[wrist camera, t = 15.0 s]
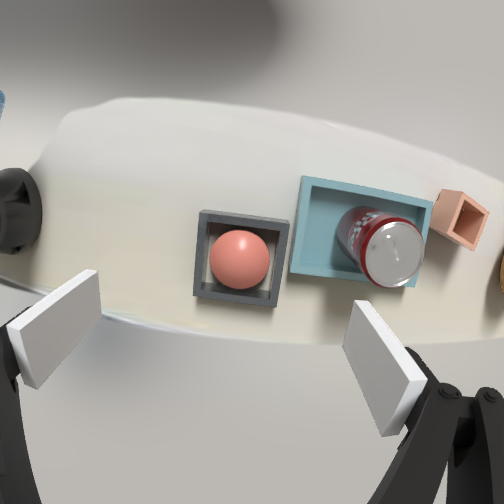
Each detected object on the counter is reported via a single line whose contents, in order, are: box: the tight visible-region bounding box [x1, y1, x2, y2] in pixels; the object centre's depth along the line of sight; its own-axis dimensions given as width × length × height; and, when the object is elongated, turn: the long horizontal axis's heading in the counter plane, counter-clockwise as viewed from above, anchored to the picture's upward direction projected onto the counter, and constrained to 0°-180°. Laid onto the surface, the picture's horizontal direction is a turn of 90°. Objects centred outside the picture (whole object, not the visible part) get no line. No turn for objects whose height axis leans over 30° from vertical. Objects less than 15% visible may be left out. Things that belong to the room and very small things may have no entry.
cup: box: [429, 189, 489, 251], centre depth 35 cm, size 6×6×6 cm
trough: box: [288, 176, 433, 287], centre depth 38 cm, size 18×12×3 cm, turn 83°
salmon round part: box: [209, 229, 270, 289], centre depth 39 cm, size 8×8×2 cm
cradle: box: [193, 210, 290, 307], centre depth 39 cm, size 11×11×3 cm
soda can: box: [336, 206, 425, 289], centre depth 33 cm, size 7×7×12 cm
